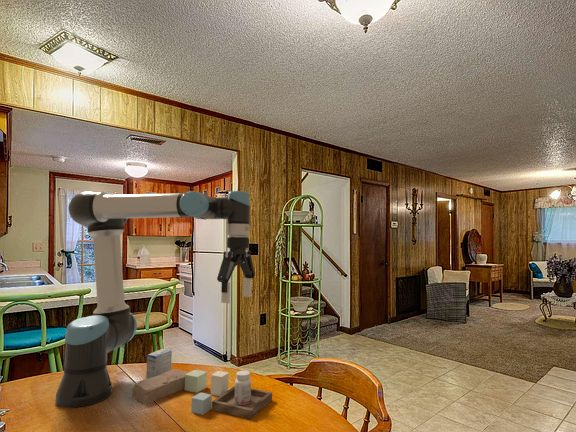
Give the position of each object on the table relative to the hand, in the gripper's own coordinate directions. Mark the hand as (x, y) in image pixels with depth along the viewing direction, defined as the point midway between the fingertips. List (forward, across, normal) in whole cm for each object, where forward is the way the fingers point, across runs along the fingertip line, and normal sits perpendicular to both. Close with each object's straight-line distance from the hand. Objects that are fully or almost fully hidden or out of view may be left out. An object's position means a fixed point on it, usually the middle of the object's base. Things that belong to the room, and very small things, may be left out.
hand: (236, 299), depth 122 cm
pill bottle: (+28, -10, -9) cm, 31 cm away
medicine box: (+29, -4, +29) cm, 41 cm away
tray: (+29, -10, -9) cm, 32 cm away
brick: (+29, -13, +19) cm, 37 cm away
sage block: (+29, -6, +11) cm, 31 cm away
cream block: (+29, -6, +2) cm, 29 cm away
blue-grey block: (+29, -18, 0) cm, 34 cm away
